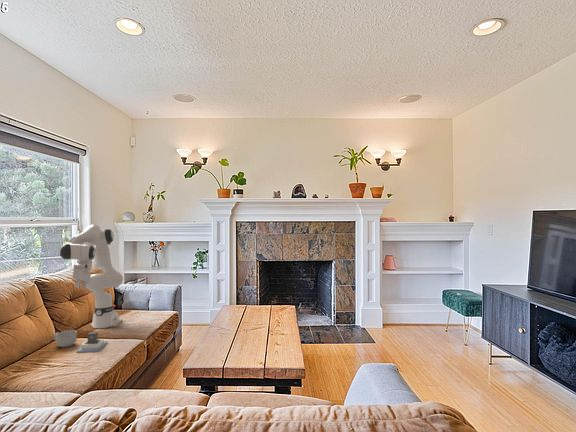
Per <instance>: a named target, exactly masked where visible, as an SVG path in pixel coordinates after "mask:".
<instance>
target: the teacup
mask: <svg viewBox="0 0 576 432" xmlns="http://www.w3.org/2000/svg"><path fill="white" fill-rule="evenodd" d="M77 333H78V331H77V330H75V329H70V330H63V331H60V332H55V333H54V334H53V336H52V338H53V340H55V341H56V344H57V346H58V347H60V348H68V347H71V346H73V345H74V344H75V343H76V342H77V335H78V334H77Z"/></svg>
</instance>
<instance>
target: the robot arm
mask: <svg viewBox="0 0 576 432" xmlns="http://www.w3.org/2000/svg"><path fill="white" fill-rule="evenodd" d="M114 235H115V234H114V232H113V230H111V229H110V228H106V229H101V227H100V226H99V225H98V224H90V225H88V226H87V227H86V228H85V229H84V230H83V232H81V233H79V234H75V235H74V236H73V237H71V239H70V240H68V241H67V243H65V244H63V245H62V246H61V248H60V250H59V256H60V257H61V258H62V259H64V260H65V261H67V260H77V262H76V263H74V264H73V272H72V279H73V280H74V281H75V288H77V289H79V288H80V289H81V290H85V288H86V289H87V290H89V291H91V293H92V294H93V296H94V303H95V306H94V313H93V315H92V322H91V324H90V326H92V328H93V329H105V328H110V327H115V326H117V325H118V324H120V323H121V322H122V321H123V319H122V318H120V314H119V313H118V312H117V311H115V310H114V308H116V304H113V295H112V294H111V293H110V292H107V291H105V290H104V289H106V288H107V289H108V288H115V287H118V286H120V285H122V283H123V280H124V277H123V275H122V274H121V272H118V270H116V269H115V268H114V267H113V264H112V260H111V253H110V247H109V246H110V245H111V243H112V242H113V241H114V237H115V236H114ZM93 265H94V267H95V268H96V269H97V270H100V271H102V272H103V273H94V274H91V271H92V267H93ZM80 283H82V284H81V287H80Z"/></svg>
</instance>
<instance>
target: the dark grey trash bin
mask: <svg viewBox="0 0 576 432" xmlns="http://www.w3.org/2000/svg"><path fill="white" fill-rule="evenodd" d="M98 339H99V332H98V331H90V332H89V333H87V340H88V344H97V343H98Z"/></svg>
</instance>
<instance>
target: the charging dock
mask: <svg viewBox="0 0 576 432" xmlns="http://www.w3.org/2000/svg"><path fill="white" fill-rule="evenodd" d="M107 344H108V341H105V339H104V338H101V339H99V338H98V343H97V344H88V339H87V340H86V341H84V342H82V344H81V345H80V347H79V349H77V350H76V354H79V353H95V352H100V351H101V349H103V348H104V347H106V345H107Z"/></svg>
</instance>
